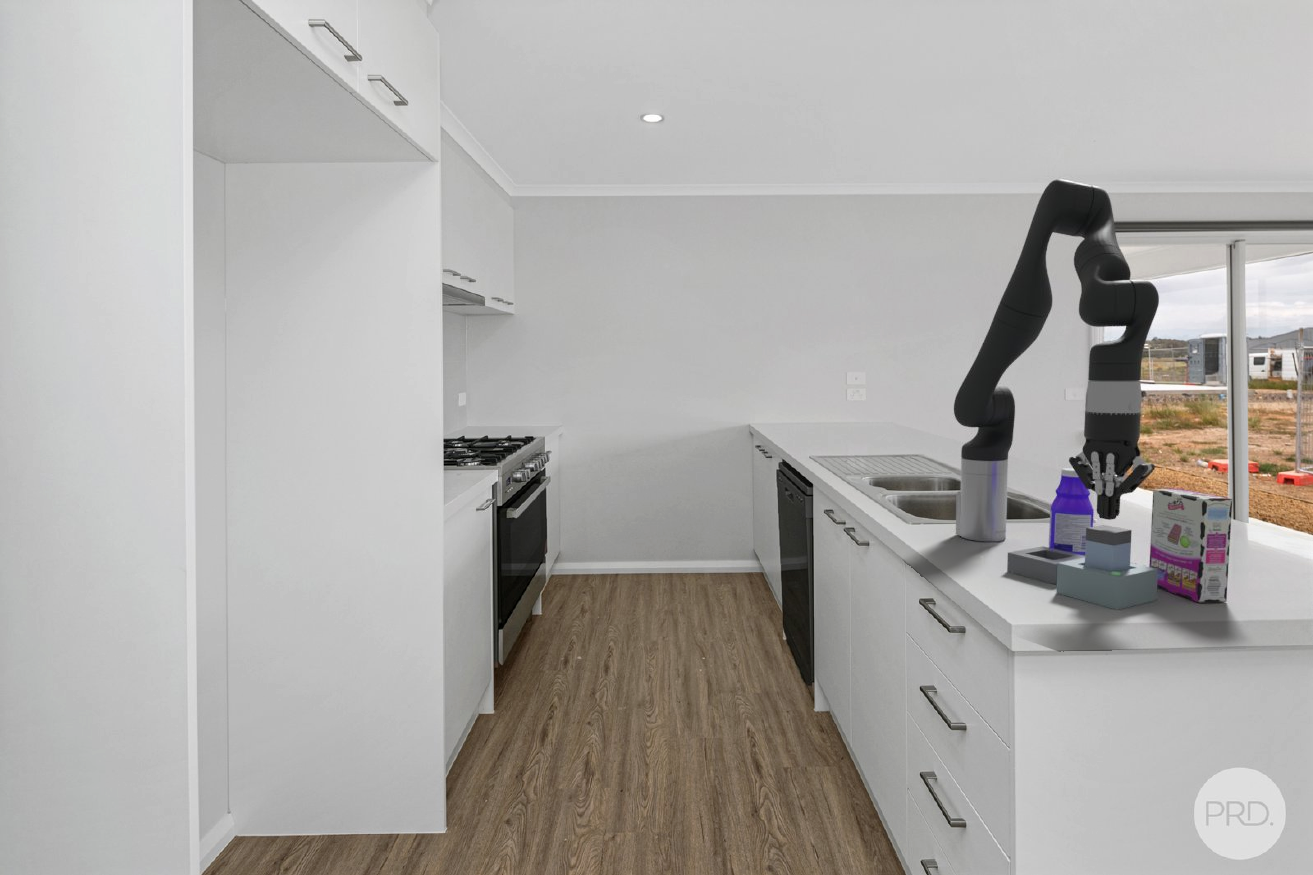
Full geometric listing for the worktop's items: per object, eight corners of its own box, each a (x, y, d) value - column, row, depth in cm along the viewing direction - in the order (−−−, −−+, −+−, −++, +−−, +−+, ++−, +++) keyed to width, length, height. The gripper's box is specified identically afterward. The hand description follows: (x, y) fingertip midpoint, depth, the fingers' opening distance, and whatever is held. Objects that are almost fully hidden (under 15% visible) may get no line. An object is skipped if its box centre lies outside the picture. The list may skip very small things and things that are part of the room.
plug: (1083, 588, 123) (1086, 527, 122) (1101, 584, 125) (1103, 524, 124) (1111, 596, 119) (1113, 533, 118) (1128, 591, 121) (1131, 530, 120)
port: (1056, 592, 124) (1057, 560, 123) (1095, 584, 128) (1096, 553, 128) (1117, 609, 115) (1118, 574, 115) (1156, 600, 119) (1158, 566, 119)
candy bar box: (1229, 603, 118) (1235, 498, 116) (1199, 604, 117) (1204, 499, 116) (1174, 582, 129) (1179, 487, 127) (1146, 584, 128) (1151, 488, 127)
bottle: (1088, 557, 147) (1091, 467, 145) (1094, 564, 141) (1098, 471, 140) (1046, 554, 149) (1049, 466, 148) (1051, 561, 144) (1054, 470, 142)
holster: (1007, 571, 137) (1007, 552, 137) (1042, 564, 141) (1042, 546, 141) (1055, 584, 129) (1056, 564, 128) (1091, 576, 133) (1091, 557, 133)
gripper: (1171, 410, 115) (1165, 523, 116) (1087, 407, 127) (1083, 509, 128) (1140, 412, 111) (1134, 528, 113) (1058, 408, 123) (1053, 513, 125)
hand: (1107, 518), depth 121 cm, fingers closed
